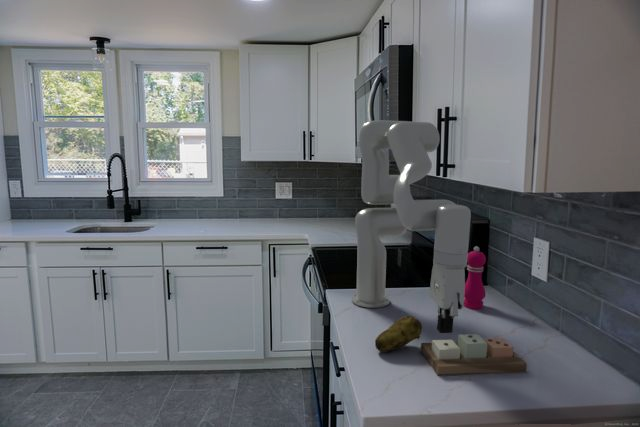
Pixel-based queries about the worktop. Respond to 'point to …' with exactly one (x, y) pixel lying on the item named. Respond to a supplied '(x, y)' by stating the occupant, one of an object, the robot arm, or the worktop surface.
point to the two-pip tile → (472, 346)
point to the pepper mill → (474, 280)
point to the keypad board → (473, 364)
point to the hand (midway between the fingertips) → (444, 331)
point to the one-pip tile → (445, 349)
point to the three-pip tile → (498, 348)
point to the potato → (399, 334)
